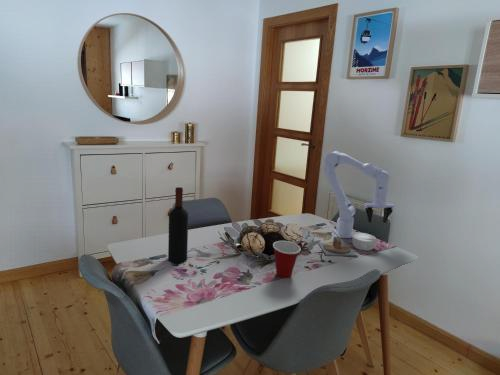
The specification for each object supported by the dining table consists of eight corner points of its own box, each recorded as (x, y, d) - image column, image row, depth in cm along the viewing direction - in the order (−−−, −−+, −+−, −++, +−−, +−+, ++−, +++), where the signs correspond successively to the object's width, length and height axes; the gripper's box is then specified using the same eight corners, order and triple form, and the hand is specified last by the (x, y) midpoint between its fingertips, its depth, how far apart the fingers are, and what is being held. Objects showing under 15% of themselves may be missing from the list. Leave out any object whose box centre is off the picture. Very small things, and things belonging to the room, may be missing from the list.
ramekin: (364, 253, 173) (366, 242, 172) (345, 245, 182) (347, 234, 180) (379, 249, 179) (381, 238, 178) (360, 241, 188) (362, 231, 187)
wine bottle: (164, 260, 152) (165, 188, 145) (176, 254, 159) (177, 184, 152) (179, 265, 149) (180, 191, 142) (190, 258, 155) (192, 187, 148)
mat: (317, 243, 181) (317, 242, 181) (345, 244, 182) (346, 243, 182) (326, 255, 167) (326, 254, 167) (356, 256, 169) (356, 255, 169)
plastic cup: (288, 284, 139) (291, 253, 136) (264, 274, 146) (267, 245, 143) (303, 274, 148) (306, 245, 145) (280, 265, 154) (282, 238, 151)
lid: (320, 243, 180) (321, 233, 179) (344, 243, 182) (345, 234, 180) (327, 253, 169) (328, 243, 168) (353, 253, 170) (354, 243, 169)
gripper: (369, 197, 178) (366, 224, 181) (398, 197, 179) (394, 225, 182) (363, 193, 185) (360, 220, 188) (391, 194, 186) (388, 220, 189)
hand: (376, 222), depth 185 cm, fingers open, 7 cm apart
